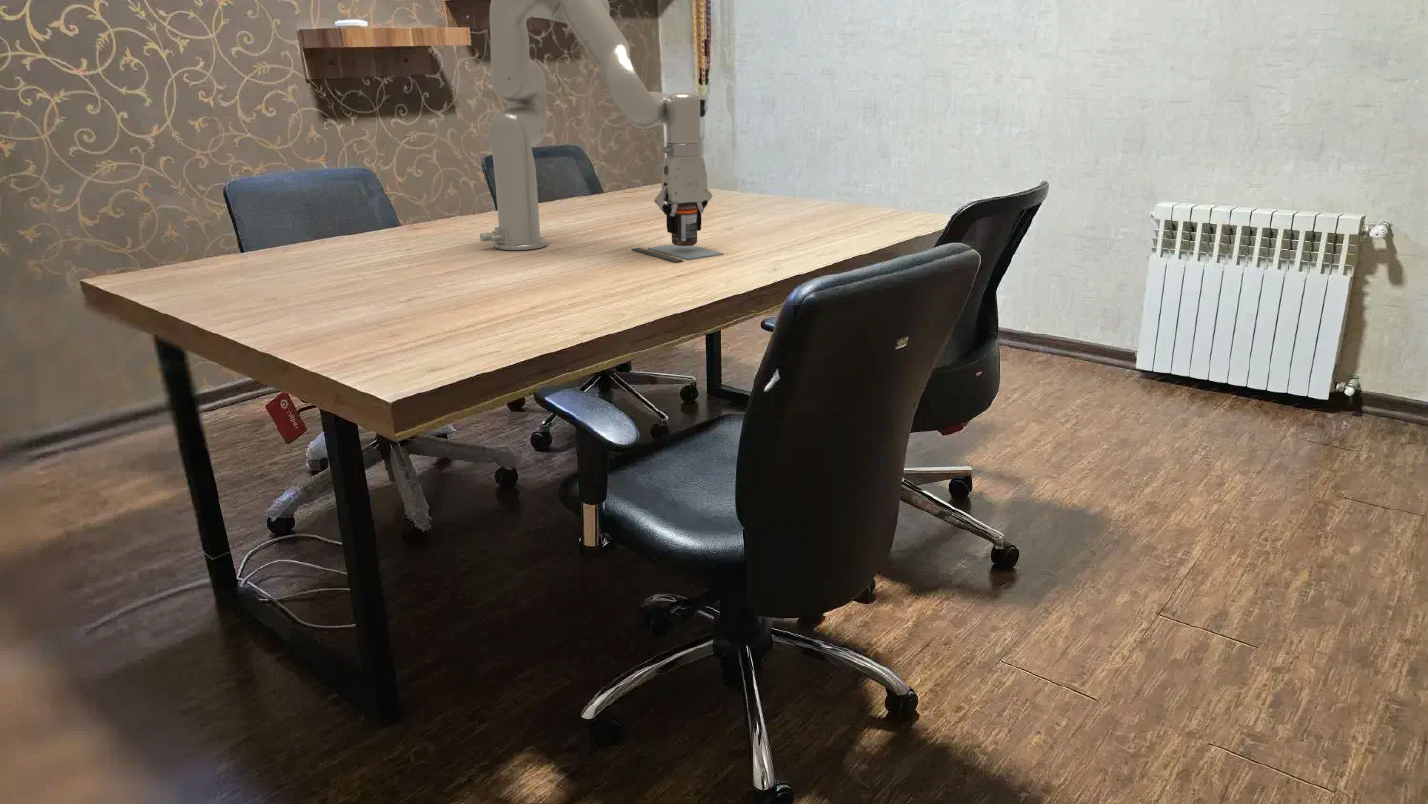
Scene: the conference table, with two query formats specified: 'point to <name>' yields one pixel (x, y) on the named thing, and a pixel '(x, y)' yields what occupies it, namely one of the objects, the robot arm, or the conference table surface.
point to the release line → (657, 255)
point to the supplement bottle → (686, 225)
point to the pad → (686, 251)
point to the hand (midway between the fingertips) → (684, 230)
